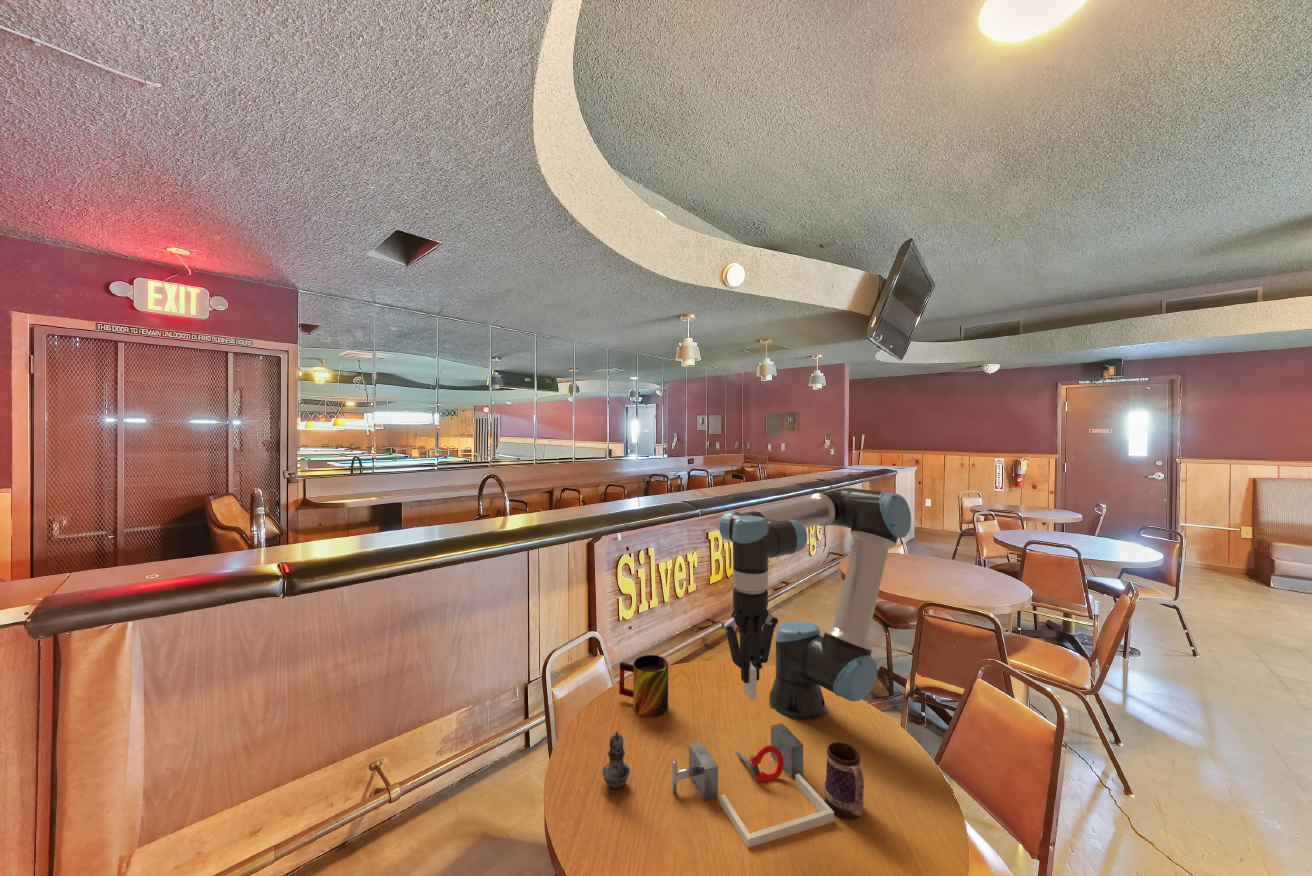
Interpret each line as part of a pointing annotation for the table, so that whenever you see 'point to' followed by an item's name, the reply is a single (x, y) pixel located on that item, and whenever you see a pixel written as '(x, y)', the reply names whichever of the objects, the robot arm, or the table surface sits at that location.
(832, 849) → the table surface
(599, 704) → the table surface
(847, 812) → the mug
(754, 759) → the tow hook
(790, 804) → the table surface
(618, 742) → the chess piece
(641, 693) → the mug
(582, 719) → the table surface
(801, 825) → the corral
